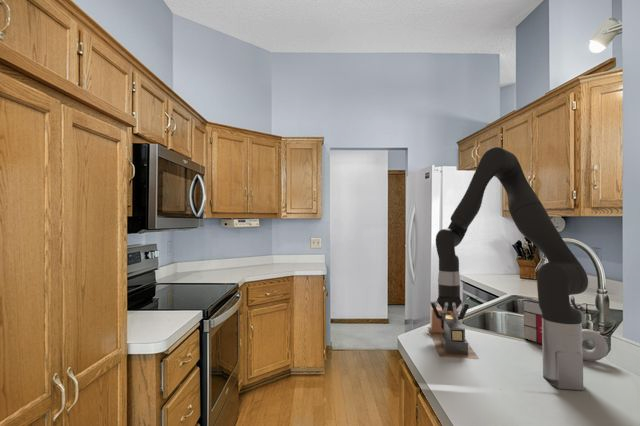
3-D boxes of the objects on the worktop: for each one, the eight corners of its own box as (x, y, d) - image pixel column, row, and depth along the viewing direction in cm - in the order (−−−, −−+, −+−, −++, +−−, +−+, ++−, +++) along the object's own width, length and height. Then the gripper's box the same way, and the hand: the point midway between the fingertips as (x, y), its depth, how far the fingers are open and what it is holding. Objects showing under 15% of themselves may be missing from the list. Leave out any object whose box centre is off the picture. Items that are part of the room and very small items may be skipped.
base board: (479, 362, 115) (479, 358, 115) (439, 360, 117) (439, 356, 117) (458, 331, 147) (458, 328, 147) (427, 330, 149) (427, 327, 149)
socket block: (458, 333, 141) (458, 311, 141) (432, 332, 143) (431, 310, 143) (456, 329, 146) (456, 308, 146) (430, 328, 147) (430, 307, 148)
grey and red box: (522, 339, 138) (521, 299, 138) (530, 337, 139) (529, 298, 140) (551, 348, 128) (550, 305, 128) (559, 346, 129) (558, 304, 130)
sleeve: (468, 355, 118) (468, 328, 118) (446, 353, 119) (446, 327, 119) (461, 342, 130) (460, 319, 130) (440, 341, 131) (440, 318, 131)
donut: (569, 359, 118) (569, 328, 118) (569, 355, 121) (569, 325, 121) (609, 365, 112) (608, 333, 112) (607, 362, 115) (607, 330, 115)
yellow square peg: (462, 340, 119) (462, 331, 119) (452, 340, 119) (452, 330, 119) (450, 323, 139) (450, 315, 139) (442, 322, 139) (442, 315, 139)
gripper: (430, 284, 131) (430, 332, 131) (471, 285, 129) (472, 334, 128) (428, 280, 138) (428, 326, 138) (466, 281, 136) (467, 328, 135)
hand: (449, 330), depth 133 cm, fingers closed on yellow square peg, 3 cm apart
